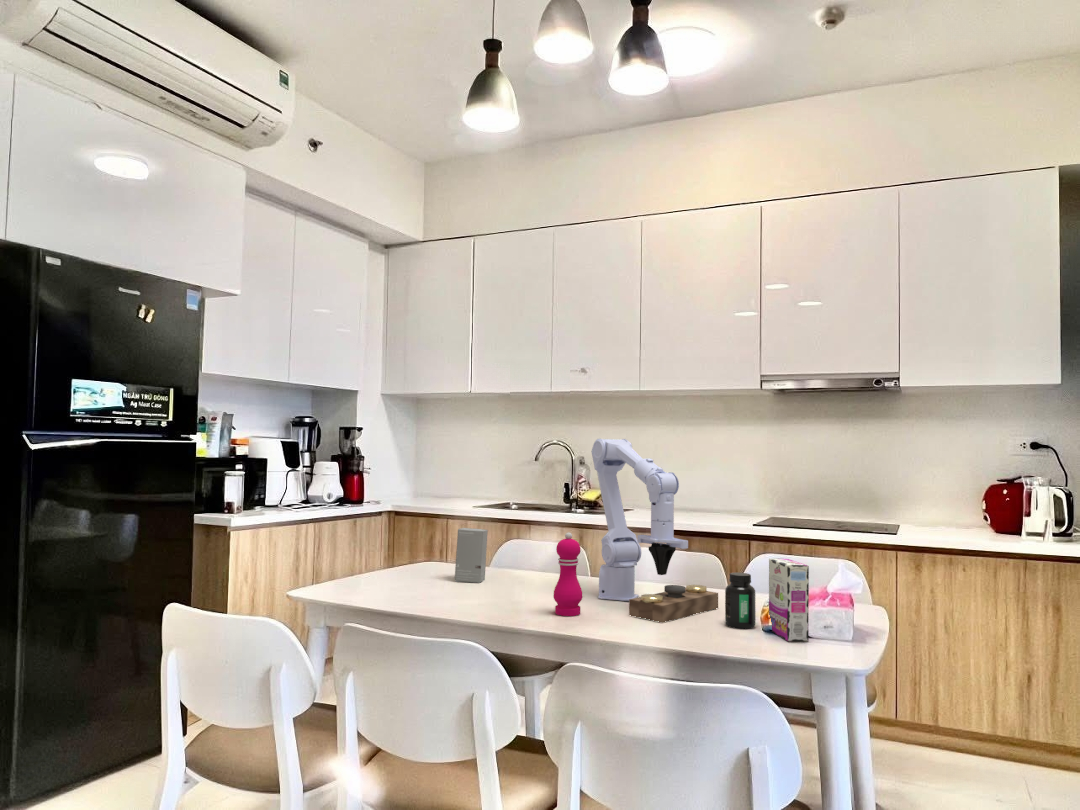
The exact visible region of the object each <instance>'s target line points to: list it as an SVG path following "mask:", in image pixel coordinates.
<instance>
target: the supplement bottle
mask: <svg viewBox="0 0 1080 810" xmlns="http://www.w3.org/2000/svg"><path fill="white" fill-rule="evenodd" d="M728 580H729V582H730V583H729V584H728V585H726V587H725V589H724V591H725V592H724V593H725V594H724V599H725V600H724V605H725V607H724V610H725V611H724V616H725V617H724V620H725V622H724V623H725V625H726V626H727V627H728V628H732V629H737V630H750V629H754V628H755V627H756V617H757V616H756V589H755V587H754V586H753V585H751V583H752V575H751V574H750V573H748V572H730V573H729V579H728Z"/></svg>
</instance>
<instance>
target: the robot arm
mask: <svg viewBox="0 0 1080 810" xmlns="http://www.w3.org/2000/svg"><path fill="white" fill-rule="evenodd" d="M591 456H592V462H593V467H594V470H595V471H596V475H597V480H598V483H599V488H600V495H601V500H602V505H603V509H604V515H605V520H606V525H607V530H608V531H607V533H606V534H604V536H603V537H602V538H601V558H602V560H603V561H604V564H601V565H600V568H599V572H598V573H599V574H598V597H597V599H599V600H601V599H602V600H611V601H613V600H614V601H623V602H629V599H633V598H638V597H640V595H639V594H636V593H635V583H636V582H635V579H636V578H635V576H636V575H635V571H636V570H635V567H636V566H637V565H638V563H639V561H640V560H641V557H642V547H641V545H640V544H649V546H648V551H649V552H650V554H651V557H652V559H653V562H654V566H655V569H656V573H657V575H658V576H666V575H667V573H668V569H669V565H670V562H671V559H672V557H673V555H674V553H675V552H676V550H677V548H679V549H682V550H686V549H689V540H687V539H682V538H676V537H674V535H675V534H674V533H675V531H674V529H675V528H674V526H675V519H674V518H675V516H674V515H675V511H674V509H675V495H676V494H677V493H678V491H679V489H680V483H679V479H678V476H677V475H676V473H674V472H672V471H671V472H667V471H665V470H664V469H663V468H662V467H660V466H659V465H657V464H656V463H655V462H654V459H653V458H650V457H649V458H647V457H646V458H643V457H642V456H641V455H640V454H638V452H637V451H636V450H635V449H633V444H632V442H630V441H629V440H628V439H626V438H622V439H620V438H619V439H613V438H607V439H606V438H600V437H599V438H597V439H595V441H594V443H593V445H592V448H591ZM625 465H628V466H630V467H631V468H632V469H633V472H634V475H635V477H637V478H638V479H639V480H640V481H641V482H642V483H643V484H644V485H645V486H646V491H647V493H648V500H649V502H650V535H648V534H637V535H636V533H635V532H633V531H631V530H630V529H629V528H628V526H627V525H628V524H627V520H626V515H625V511H624V507H623V505H624V504H623V502H622V496H621V491H620V486H619V482H618V476H617V474H618V472H619V471H621V470H623V468H624V466H625Z"/></svg>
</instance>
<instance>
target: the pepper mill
mask: <svg viewBox="0 0 1080 810" xmlns="http://www.w3.org/2000/svg"><path fill="white" fill-rule="evenodd" d="M564 537H565V538H562V539H561V540H560V541H558V543H557V544H556V553H557V555H558V557H559V558H558V565H559V578H558V579H557V580H558V581H557V582H556V584H555V586H554V590H553V600H554V601H555V602H556V605H555V606H554V611H555V612H554V614H555V615H557V616H560V615H561V617H576V615H577V616H579V614H581V606H580V605H579V604H580V603H581V602H582V600H583V597H584V596H583V590H582V587H581V585H580V583H579V579H578V575H577V566H578V565H579V558H578V556H579V555H580V554H581V544H580V543H579V542H578V540H575V539H574V538H573V535H572V532H566V533H565V534H564Z"/></svg>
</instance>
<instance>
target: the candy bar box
mask: <svg viewBox="0 0 1080 810" xmlns="http://www.w3.org/2000/svg"><path fill="white" fill-rule="evenodd" d="M768 568H769V569H768V616H769V615H770V618H771V622H772V631H771V632H772V633H774V634H775V635H776V636H778V637H779V638H782V639H783V640H785V641H786V642H789V643H790V642H791V643H794V642H795V643H797V642H799V643H800V642H801V643H802V642H803V643H804V642H809V641H810V639H809V634H810V633H809V631H810V630H809V620H810V619H809V614H810V613H809V612H810V610H809V605H810V604H809V592H810V590H809V589H810V588H809V587H810V585H809V583H810V579H809V578H810V577H809V574H810V567H809V565H807V564H804V563H801V562H798V561H796V560H793V559H790V558H781V557H780V558H769V559H768Z"/></svg>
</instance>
